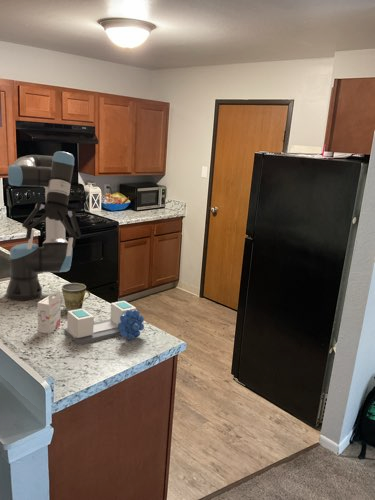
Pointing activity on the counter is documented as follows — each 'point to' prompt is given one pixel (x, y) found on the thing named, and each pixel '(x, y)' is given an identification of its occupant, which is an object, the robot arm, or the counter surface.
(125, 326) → the blue thick lobed disc
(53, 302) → the ink cartridge box
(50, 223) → the robot arm
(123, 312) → the rail board
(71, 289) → the ceramic cup
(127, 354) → the counter surface
